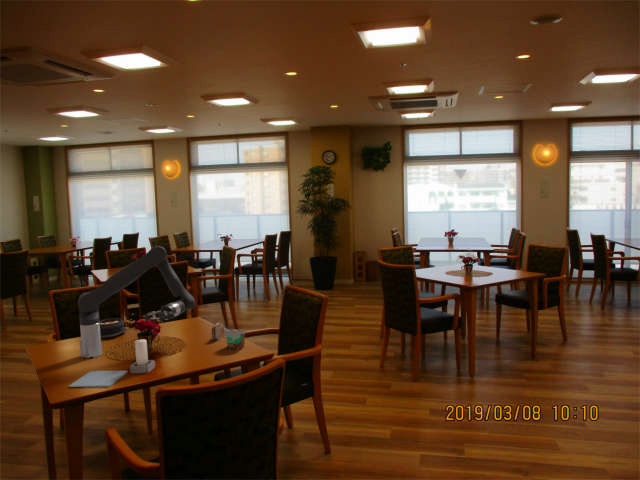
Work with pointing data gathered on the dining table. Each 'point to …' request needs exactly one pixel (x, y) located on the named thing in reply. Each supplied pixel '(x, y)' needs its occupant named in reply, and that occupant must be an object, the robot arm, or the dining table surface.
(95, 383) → the mat
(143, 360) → the cream tall cylinder
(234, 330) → the food container
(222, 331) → the tin
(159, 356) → the dining table surface
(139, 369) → the cup holder
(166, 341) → the dining table surface
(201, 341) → the dining table surface
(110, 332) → the casserole
